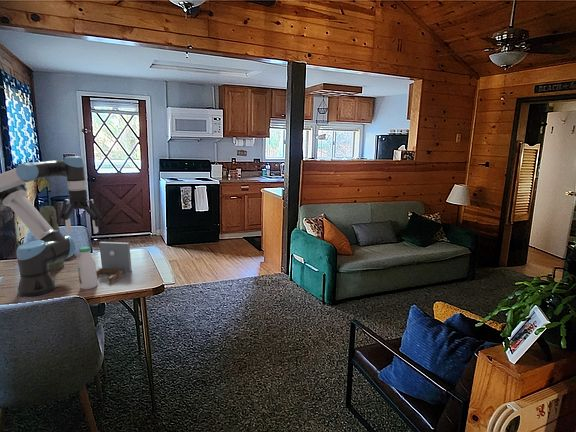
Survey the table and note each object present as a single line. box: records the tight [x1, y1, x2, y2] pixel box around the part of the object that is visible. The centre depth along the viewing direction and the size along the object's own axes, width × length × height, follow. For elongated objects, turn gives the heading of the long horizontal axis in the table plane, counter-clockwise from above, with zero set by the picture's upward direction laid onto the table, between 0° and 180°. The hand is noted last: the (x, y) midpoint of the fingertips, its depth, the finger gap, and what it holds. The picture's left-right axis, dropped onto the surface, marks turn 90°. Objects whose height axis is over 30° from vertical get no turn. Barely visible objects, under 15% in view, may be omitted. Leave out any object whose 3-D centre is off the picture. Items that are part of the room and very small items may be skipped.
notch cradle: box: [96, 267, 125, 285], centre depth 198 cm, size 12×14×3 cm
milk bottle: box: [77, 246, 98, 290], centre depth 186 cm, size 8×8×20 cm
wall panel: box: [98, 241, 133, 273], centre depth 206 cm, size 4×16×16 cm, turn 84°
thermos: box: [38, 205, 65, 271], centre depth 210 cm, size 9×12×35 cm
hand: (82, 232), depth 184 cm, fingers open, 13 cm apart
